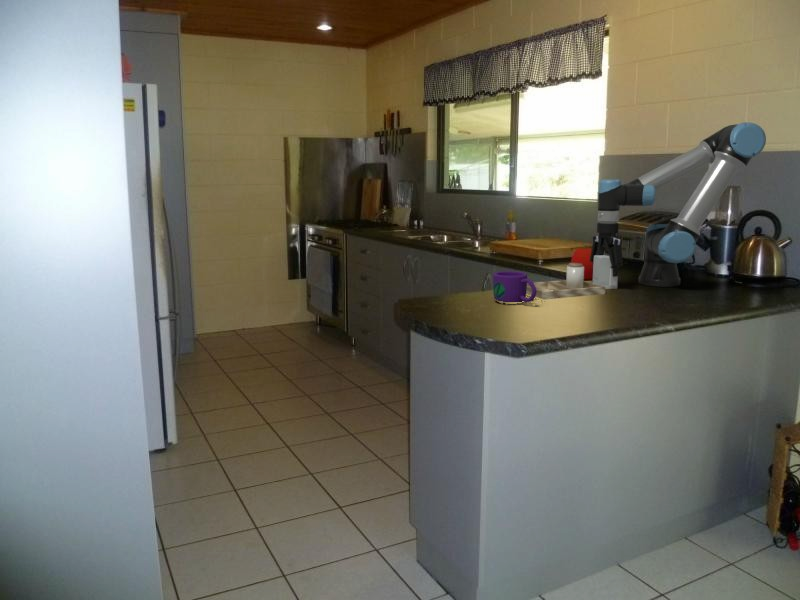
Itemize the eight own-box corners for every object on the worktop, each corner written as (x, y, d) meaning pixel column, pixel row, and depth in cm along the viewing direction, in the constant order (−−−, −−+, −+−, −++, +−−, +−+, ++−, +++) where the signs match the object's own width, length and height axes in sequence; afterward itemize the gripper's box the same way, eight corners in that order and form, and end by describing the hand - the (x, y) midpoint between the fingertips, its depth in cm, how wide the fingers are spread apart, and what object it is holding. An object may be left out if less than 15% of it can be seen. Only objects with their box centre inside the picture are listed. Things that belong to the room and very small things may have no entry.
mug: (485, 301, 221) (486, 273, 219) (509, 297, 228) (509, 269, 226) (523, 310, 207) (524, 279, 205) (547, 305, 214) (548, 275, 212)
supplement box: (617, 291, 237) (619, 257, 234) (597, 291, 237) (599, 257, 235) (611, 287, 244) (613, 254, 242) (591, 288, 244) (593, 254, 242)
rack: (575, 288, 244) (575, 279, 243) (604, 296, 227) (605, 287, 227) (516, 293, 235) (517, 283, 235) (543, 302, 219) (543, 292, 218)
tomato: (590, 277, 267) (591, 243, 264) (606, 282, 256) (608, 246, 254) (563, 279, 263) (564, 245, 260) (579, 284, 253) (581, 248, 250)
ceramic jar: (576, 289, 237) (577, 262, 235) (586, 291, 231) (587, 264, 229) (562, 290, 235) (563, 263, 233) (572, 293, 229) (573, 265, 227)
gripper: (581, 220, 244) (579, 279, 249) (618, 224, 225) (615, 288, 229) (598, 220, 247) (595, 278, 251) (636, 224, 227) (632, 287, 231)
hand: (604, 283), depth 240 cm, fingers closed on supplement box, 9 cm apart
